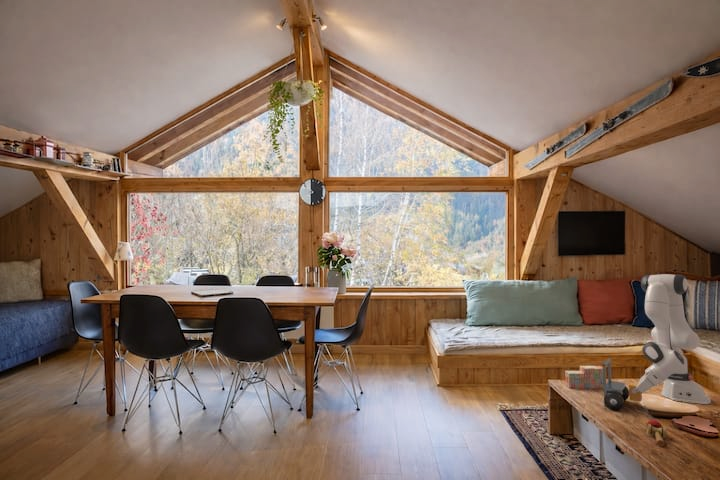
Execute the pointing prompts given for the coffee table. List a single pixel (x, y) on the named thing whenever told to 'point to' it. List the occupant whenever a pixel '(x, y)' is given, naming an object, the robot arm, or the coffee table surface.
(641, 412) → the coffee table surface
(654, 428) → the kendama
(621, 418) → the coffee table surface
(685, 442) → the coffee table surface
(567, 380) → the stack of blocks
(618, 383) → the trolley
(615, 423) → the coffee table surface
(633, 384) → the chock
